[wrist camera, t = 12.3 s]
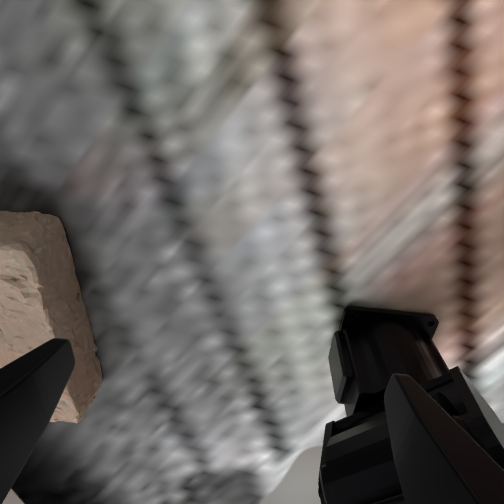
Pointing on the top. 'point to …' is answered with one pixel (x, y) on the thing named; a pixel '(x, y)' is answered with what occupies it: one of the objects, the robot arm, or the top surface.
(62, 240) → the brick
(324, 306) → the top surface
